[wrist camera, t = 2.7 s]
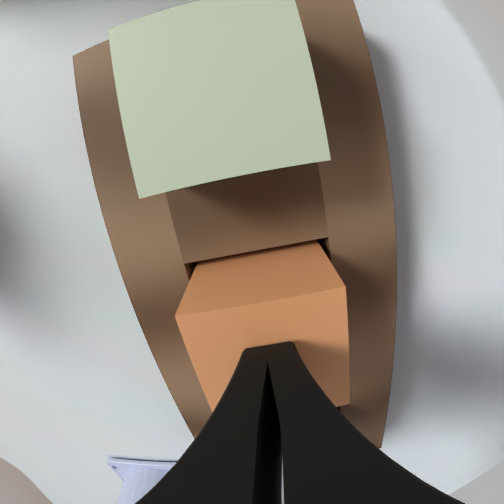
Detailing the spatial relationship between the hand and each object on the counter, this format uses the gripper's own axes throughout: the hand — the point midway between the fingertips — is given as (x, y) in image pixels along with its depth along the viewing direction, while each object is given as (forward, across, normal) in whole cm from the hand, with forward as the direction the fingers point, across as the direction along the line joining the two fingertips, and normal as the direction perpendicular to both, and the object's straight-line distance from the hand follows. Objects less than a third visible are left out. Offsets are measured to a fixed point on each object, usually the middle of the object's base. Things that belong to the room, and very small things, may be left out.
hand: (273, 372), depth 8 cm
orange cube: (+4, 0, 0) cm, 4 cm away
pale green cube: (+4, 0, -7) cm, 9 cm away
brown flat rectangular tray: (+6, 0, 0) cm, 6 cm away
